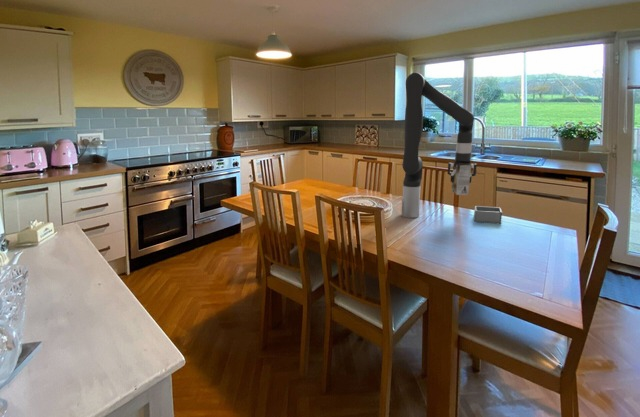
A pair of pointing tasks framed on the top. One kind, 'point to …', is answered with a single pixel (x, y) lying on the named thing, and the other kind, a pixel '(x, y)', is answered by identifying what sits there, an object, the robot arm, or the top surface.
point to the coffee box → (461, 178)
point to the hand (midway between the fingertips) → (460, 183)
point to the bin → (487, 214)
